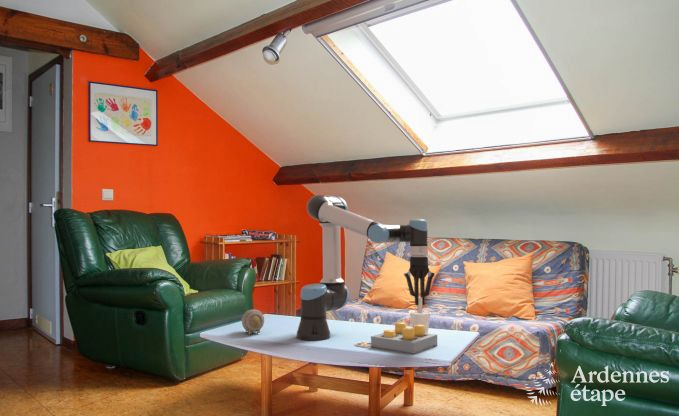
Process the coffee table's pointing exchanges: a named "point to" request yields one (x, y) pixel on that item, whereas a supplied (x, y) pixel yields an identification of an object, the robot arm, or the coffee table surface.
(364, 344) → the pattern tile
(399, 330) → the button
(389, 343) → the board
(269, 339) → the coffee table surface
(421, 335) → the button
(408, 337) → the button
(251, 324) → the toy sheep
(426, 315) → the cup
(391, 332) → the button
